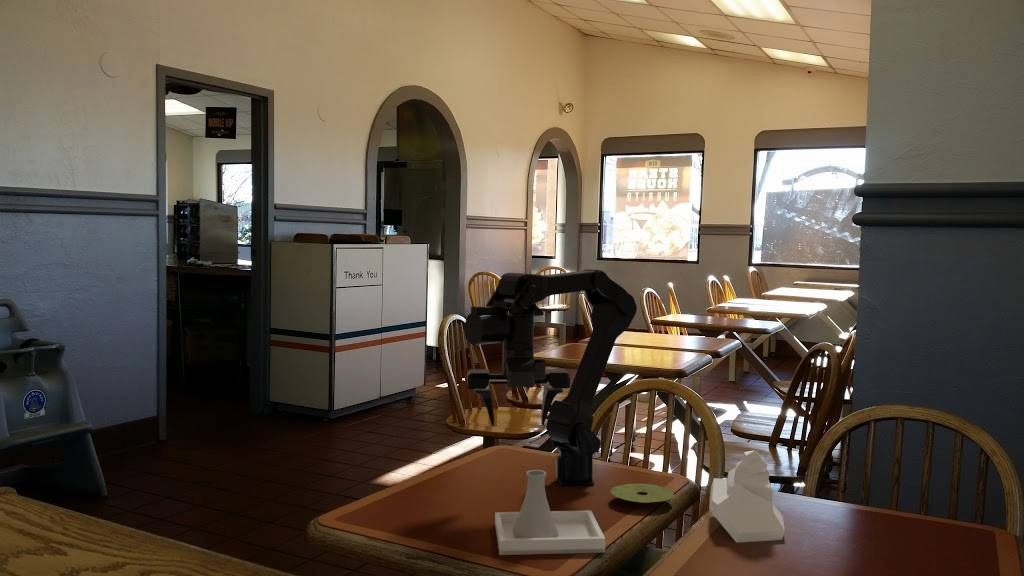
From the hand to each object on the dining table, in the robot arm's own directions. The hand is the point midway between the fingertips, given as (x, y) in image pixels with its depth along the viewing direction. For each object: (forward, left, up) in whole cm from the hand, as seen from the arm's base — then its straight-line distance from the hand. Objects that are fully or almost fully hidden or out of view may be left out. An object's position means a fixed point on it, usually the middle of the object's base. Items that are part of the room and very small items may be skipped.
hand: (517, 425), depth 154 cm
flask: (-1, +23, -13) cm, 26 cm away
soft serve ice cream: (-36, +20, -13) cm, 43 cm away
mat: (-22, +6, -13) cm, 26 cm away
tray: (-3, +23, -13) cm, 27 cm away
